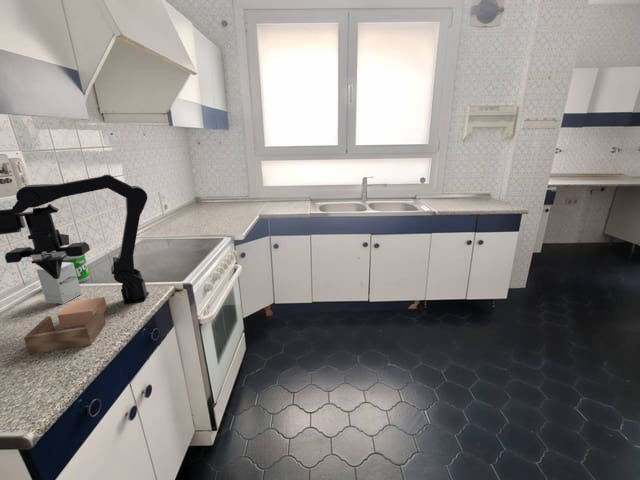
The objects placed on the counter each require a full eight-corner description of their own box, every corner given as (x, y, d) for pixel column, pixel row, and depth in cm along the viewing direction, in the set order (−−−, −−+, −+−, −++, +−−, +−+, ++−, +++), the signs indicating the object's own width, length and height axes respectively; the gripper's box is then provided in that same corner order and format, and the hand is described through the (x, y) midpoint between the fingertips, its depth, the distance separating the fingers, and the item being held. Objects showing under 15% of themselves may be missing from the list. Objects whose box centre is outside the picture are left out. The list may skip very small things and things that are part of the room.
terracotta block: (107, 309, 102) (104, 297, 100) (95, 323, 93) (92, 310, 92) (76, 313, 100) (72, 300, 98) (61, 328, 91) (57, 315, 90)
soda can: (64, 286, 119) (55, 257, 115) (70, 279, 125) (62, 251, 121) (87, 282, 121) (80, 254, 118) (92, 275, 128) (85, 248, 124)
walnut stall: (106, 323, 93) (102, 309, 91) (91, 344, 83) (86, 328, 82) (51, 331, 89) (46, 316, 88) (29, 354, 80) (23, 337, 78)
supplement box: (63, 304, 105) (52, 270, 101) (45, 302, 106) (34, 269, 102) (83, 294, 112) (74, 262, 108) (66, 293, 113) (57, 261, 109)
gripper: (90, 220, 99) (102, 265, 103) (20, 225, 94) (35, 272, 99) (74, 228, 89) (88, 278, 93) (-5, 235, 84) (13, 287, 88)
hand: (57, 278), depth 94 cm, fingers closed
